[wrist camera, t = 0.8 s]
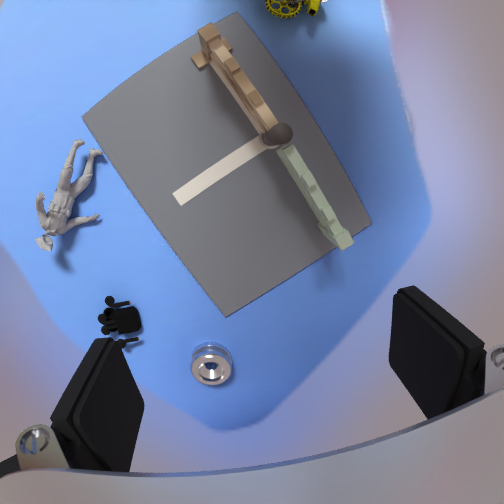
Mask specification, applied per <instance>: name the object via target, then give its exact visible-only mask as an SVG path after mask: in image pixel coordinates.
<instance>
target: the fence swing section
mask: <svg viewBox="0 0 504 504" xmlns="http://www.w3.org/2000/svg"><path fill="white" fill-rule="evenodd" d="M275 151H276V152H277V154H278V155H279V157H280V159H281V160H282V162H283V163H284V165H285V166H286V168H287V170H288V172H289V173H290V175H291V176H292V178H293V180H294V181H295V182H296V184H297V186H298V187H299V189H300V191H301V192H302V194H303V196H304V197H305V199H306V201H307V203H308V204H309V206H310V208H311V209H312V211H313V212H314V214H315V216H316V217H317V219H318V221H319V223H318V224H317V225H318V227H319V228H320V230H321V232H322V233H323V235H324V236H325V237H327V238H328V239H329V240H330V241H331V242H332V243H333V244H334V245H336V246H337V247H338V248H339V249H340V250H341V251H343V250H344V249H346V248H347V247H349V246H350V245H352V244H353V243H354V241H353V239H352V237H351V236H350V234H349V232H348V230H346V229H345V228H343V227H342V226H341V225H340V223H339V221H338V219H337V217H336V215H335V213H334V211H333V209H332V208H331V206H330V205H329V203H328V201H327V200H326V198H325V196H324V195H323V193H322V191H321V189H320V188H319V186H318V184H317V182H316V180H315V178H314V177H313V175H312V173H311V172H310V171H309V169H308V168H307V166H306V164H305V163H304V161H303V159H302V158H301V156H300V155H299V153H298V151H297V150H296V148H295V147H294V145H293V144H290V145H288V146H287V145H283V146H282V147H280V148H278V149H277V150H275Z"/></svg>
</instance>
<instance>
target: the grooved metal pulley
mask: <svg viewBox="0 0 504 504" xmlns="http://www.w3.org/2000/svg"><path fill="white" fill-rule="evenodd" d="M209 362H215V363H209ZM231 364H232V360H231V354H230V352H229V350H228V349H227V348H226V347H225V346H223V345H222V344H219V343H216V342H206V343H202V344H200V345H198V346H197V347H196V348H195V349H194V350H193V353H192V358H191V365H190V370H191V373H192V375H193V377H194V378H195V379H196V380H197V381H199V382H200V383H203V384H206V385H218V384H221V383H223V382H225V381H226V380H227V379H228V378H229V377H230V375H231V372H232V365H231Z"/></svg>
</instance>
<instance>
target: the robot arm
mask: <svg viewBox="0 0 504 504" xmlns="http://www.w3.org/2000/svg"><path fill="white" fill-rule="evenodd" d="M484 344H485V343H484V342H483V341H482V340H481V339H479V338H478V337H477V336H476V335H475V334H474V333H472V332H471V331H470V330H469V329H468V328H466V327H465V326H464V325H463V324H462V323H461V322H459V321H458V320H457V319H456V318H454V317H453V316H452V315H451V314H450V313H448V312H447V311H446V310H445V309H443V308H442V307H441V306H440V305H438V304H437V303H436V302H435V301H433V300H432V299H431V298H429V297H428V296H427V295H426V294H425V293H423V292H422V291H421V290H419V289H418V288H417V287H416V286H409V287H405V288H401V289H399V290H398V291H397V294H395V295H394V297H393V310H392V327H391V339H390V349H389V363H390V366H391V368H392V369H393V370H394V372H395V373H396V374H397V376H398V377H399V379H400V380H401V382H402V383H403V384H404V386H405V387H406V389H407V390H408V391H409V393H410V394H411V396H412V397H413V399H414V400H415V402H416V403H417V404H418V406H419V407H420V409H421V410H422V412H423V413H424V415H425V416H426V417H427V419H428V420H426V421H423V422H421V423H418V424H416V425H413V426H411V427H408V428H405V429H402V430H400V431H397V432H394V433H391V434H388V435H385V436H382V437H379V438H376V439H373V440H370V441H366V442H363V443H360V444H356V445H353V446H350V447H346V448H342V449H338V450H334V451H330V452H326V453H322V454H318V455H313V456H309V457H304V458H299V459H294V460H289V461H283V462H278V463H272V464H266V465H259V466H252V467H244V468H235V469H225V470H215V471H202V472H179V473H137V472H136V473H135V472H129V471H130V466H131V461H132V457H133V453H134V449H135V444H136V440H137V436H138V432H139V428H140V423H141V419H142V416H143V412H144V401H143V398H142V396H141V394H140V392H139V389H138V387H137V385H136V383H135V380H134V378H133V376H132V373H131V371H130V369H129V366H128V364H127V362H126V359H125V357H124V354H123V352H122V349H121V347H120V344H119V343H118V342H117V341H114V340H113V338H111V337H108V338H97V339H95V340H94V342H93V343H92V345H91V347H90V348H89V350H88V352H87V353H86V355H85V357H84V358H83V360H82V362H81V363H80V365H79V367H78V368H77V370H76V372H75V374H74V375H73V377H72V379H71V381H70V382H69V384H68V386H67V388H66V389H65V391H64V393H63V395H62V397H61V399H60V400H59V402H58V404H57V406H56V408H55V410H54V411H53V413H52V415H51V417H50V419H51V421H52V422H53V423H52V425H51V427H49V426H47V425H43V424H38V425H33V426H31V427H28V428H27V429H25V430H24V431H23V432H22V433H21V434H20V435H19V437H18V438H17V440H16V444H15V446H16V453H17V454H16V455H14V456H12V457H10V458H8V459H6V460H4V461H2V462H1V463H0V504H504V344H502V345H496V346H493V347H492V348H490V349H489V350H488V352H486V351H485V350H484V349H483V348H484Z"/></svg>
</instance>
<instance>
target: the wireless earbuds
mask: <svg viewBox="0 0 504 504" xmlns="http://www.w3.org/2000/svg"><path fill="white" fill-rule="evenodd" d="M114 301H115V300H114V298H113V297H112V296H107V297H106V298H105V303H106V304H107V305H108V306H109V308H106V309H105V310H104V314H100V315H99V316H98V321H99V322H100V323H101V324H103V325H104V326H103V327H102V328H101V331H102V333H103V334H104V335H109V334H110V331H111V332H115V331H117V330H118V333H119V334H125V333H130V332H135V331H138V330H139V329H140V328H141V322H140V318H139V314H138V310H137V309H136V308H135V307H126V308H121V309H116V310H114V309H113V308H110V307H120V306H125V305H130V301H125V302H120V303H115V304H114ZM138 340H139V337H135V338H130V339H125V340H123V339H119V340H118V341H117V342H118V343H119V344H120V347H121V349H122V348H124V347H125V346H126V343H128V342H133V341H138Z"/></svg>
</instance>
